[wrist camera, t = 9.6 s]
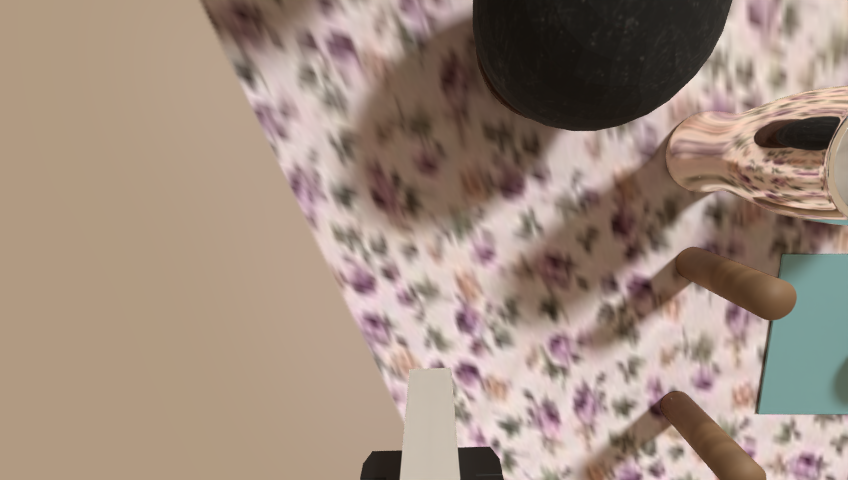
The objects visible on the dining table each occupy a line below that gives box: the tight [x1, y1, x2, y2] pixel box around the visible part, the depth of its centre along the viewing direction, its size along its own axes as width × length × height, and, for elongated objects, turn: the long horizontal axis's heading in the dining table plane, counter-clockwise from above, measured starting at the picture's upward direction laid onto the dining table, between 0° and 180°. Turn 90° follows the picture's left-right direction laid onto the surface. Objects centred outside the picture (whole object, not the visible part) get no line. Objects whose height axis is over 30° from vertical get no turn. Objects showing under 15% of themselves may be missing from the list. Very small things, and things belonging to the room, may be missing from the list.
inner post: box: [676, 247, 797, 320], centre depth 32 cm, size 3×3×9 cm
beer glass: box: [666, 86, 848, 226], centre depth 27 cm, size 7×7×15 cm
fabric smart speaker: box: [473, 0, 732, 131], centre depth 26 cm, size 13×13×15 cm
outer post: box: [660, 391, 766, 480], centre depth 35 cm, size 3×3×9 cm
